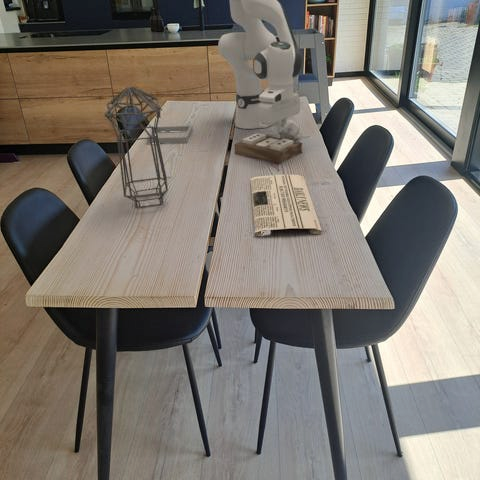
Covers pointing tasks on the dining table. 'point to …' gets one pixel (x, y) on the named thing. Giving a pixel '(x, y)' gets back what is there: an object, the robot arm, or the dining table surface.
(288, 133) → the grey rock
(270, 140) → the button one
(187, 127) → the frame
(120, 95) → the geometric lantern
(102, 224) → the dining table surface
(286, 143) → the button two
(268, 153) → the button panel
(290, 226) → the newspaper
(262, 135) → the button three
